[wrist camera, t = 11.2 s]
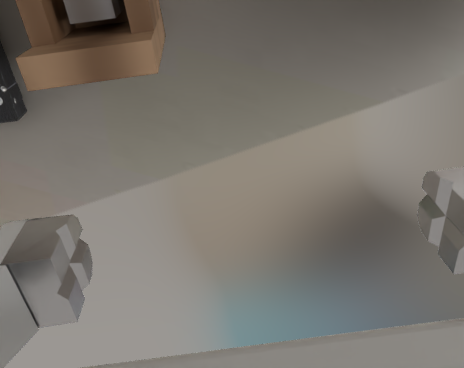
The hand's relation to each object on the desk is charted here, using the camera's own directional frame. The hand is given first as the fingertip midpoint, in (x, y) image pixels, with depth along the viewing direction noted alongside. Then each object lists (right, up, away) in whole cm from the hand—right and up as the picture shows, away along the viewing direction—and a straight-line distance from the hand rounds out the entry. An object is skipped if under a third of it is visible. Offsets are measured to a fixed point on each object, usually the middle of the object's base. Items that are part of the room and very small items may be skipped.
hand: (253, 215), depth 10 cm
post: (-11, +15, +24) cm, 31 cm away
